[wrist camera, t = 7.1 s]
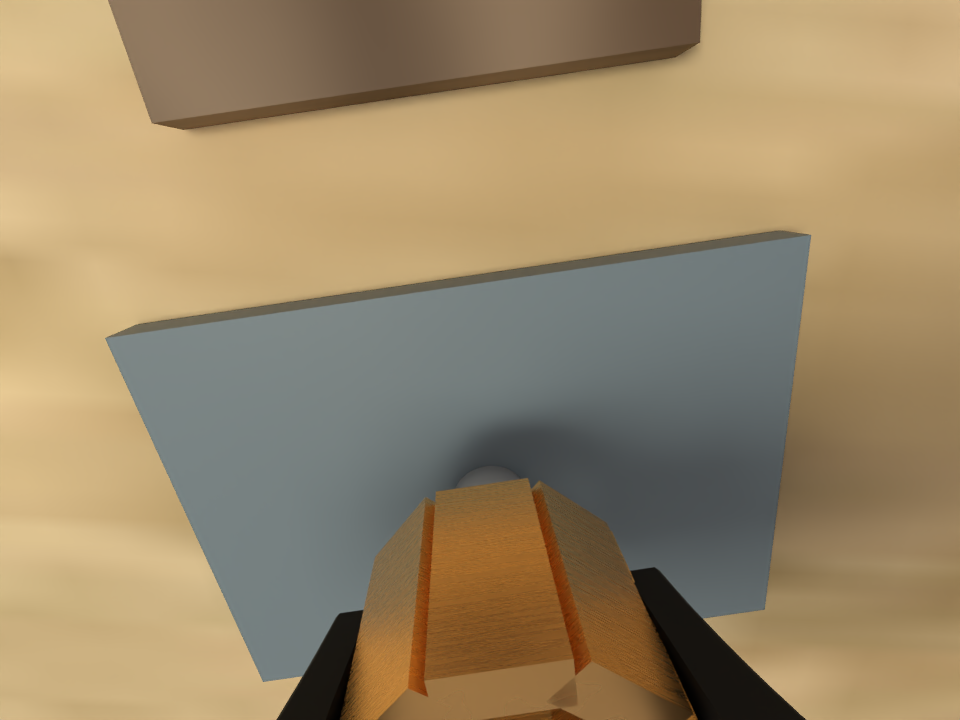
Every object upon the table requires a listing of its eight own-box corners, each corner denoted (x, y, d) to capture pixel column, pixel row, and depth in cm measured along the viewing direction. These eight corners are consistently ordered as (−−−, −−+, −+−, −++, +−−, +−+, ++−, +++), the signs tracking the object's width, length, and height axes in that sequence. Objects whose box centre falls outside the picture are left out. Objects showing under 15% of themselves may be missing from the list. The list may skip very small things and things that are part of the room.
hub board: (779, 230, 13) (941, 252, 8) (744, 582, 17) (837, 709, 13) (136, 324, 13) (-24, 393, 8) (275, 649, 17) (217, 798, 13)
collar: (608, 466, 10) (704, 640, 6) (616, 645, 12) (691, 859, 8) (355, 503, 10) (293, 699, 6) (405, 676, 12) (381, 905, 8)
